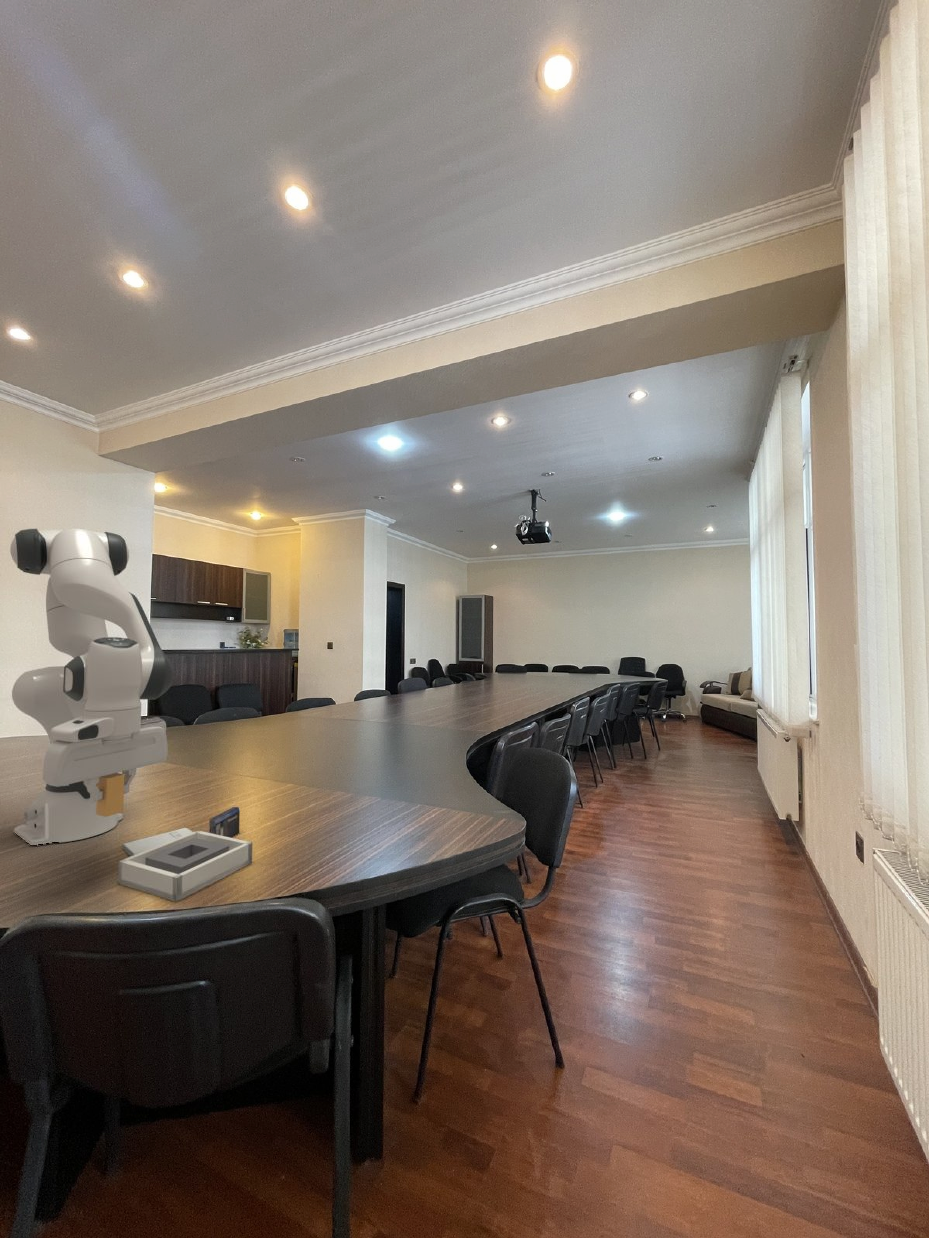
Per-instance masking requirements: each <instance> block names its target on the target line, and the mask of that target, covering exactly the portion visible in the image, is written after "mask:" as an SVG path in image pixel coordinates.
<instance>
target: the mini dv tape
mask: <svg viewBox="0 0 929 1238" xmlns="http://www.w3.org/2000/svg"><path fill="white" fill-rule="evenodd" d="M240 812H241V811H240V807H239V806H232V807H231V808H229V809H227V810H225V811H223V812H220V813H218V815H215V816H213V817H211V818H209V825H208V826H209V827H208V829H209V830H208V831H209V832H208V833H212V834H216V835H221V836H225V837H230V838H234V837H236V836H238V835H239V834H240ZM233 836H234V837H233Z"/></svg>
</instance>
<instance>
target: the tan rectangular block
mask: <svg viewBox="0 0 929 1238" xmlns="http://www.w3.org/2000/svg"><path fill="white" fill-rule="evenodd" d="M124 775H125V774H122V773H121V772H118V773H114V774H110V775H106V776H102V777H99V783H97V788H98V789H100V790H104V791H105V794H104V800H101V801H98V802H96V815H100V816H104V817H108V816H111V815H114V814H117V813H121V814H122V813H123V811H124V795H125V794H124Z"/></svg>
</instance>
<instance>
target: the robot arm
mask: <svg viewBox="0 0 929 1238" xmlns="http://www.w3.org/2000/svg"><path fill="white" fill-rule="evenodd" d="M9 551H10V557H11V558H12V561H13V562H14V563H15V565H16V568H18V569H19V570H20V571H22V572H23V573H26V574H31V575H35V576H36V575H39V576H40V575H41V574H42V575H49V576H50V577H49V578H48V580H47V584H46V585H47V586H46V593H45V610H46V611H45V612H46V621H47V624H46V625H47V632H48V641H49V643H50V644H51V646H52V647H53V648H54V649H55V650H56V651H59V652H60V653H63V654H65V655H67V656H70V657H71V658H72V659H71V660H70V661H69V662H68V663H67V664H65V665H59V666H57V665H56V666H47V667H42V668H38V669H37V668H36V669H32V670H28V671H24V672H23V673H22V674H20V676H18V678H17V679H16V680H15V682H14V684H13V687H12V690H11V698H12V702H13V704H14V705H15V707H16V708H17V709H18V710H19V711H20V712H22V713H23V714H25V715H27V716H30V717H31V718H32V719H34V720H35V721H37V722H38V723H39V724H40V725H41V726H42V728H43V729H44V730H45V732H46V734H47V736H48V738H49V743H50V744H49V745H48V747H47V749H46V752H45V755H44V761H43V767H42V768H43V769H42V780H43V781H44V782H45V784H46V785H45V787H44V788H45V791H44V792H42V794H41V795H39V796H38V798H36V799H35V800H34V801H33V802H32V803H30V804H29V806H28V810H26V811H24V814H23V817H24V821H25V823H22V824H20V825H17V826H16V827H14V828H13V833H14V832H16V833H17V834H18V835H20V837H22V838H24V839H25V840H26V842H29V844H30V845H37V846H39V845H38V844H43V845H47V844H46V843H49V844H53V843H52V842H59V843H67V842H72V841H74V842H75V841H78V840H84V839H87V838H90V837H91V838H92V837H94V836H97V835H98V836H99V835H101V834H104V833H106V832H108V831H110V830H112V829H114V828H115V827H116V826H117V825H118V822H120V821H121V820H122V819H123V818H124V816H123V813H122V812H121V813H117V814H114V815H111V816H108V817H104V816H100V815H96V802H98V801H101V800H104V794H105V791H104V790H100V789H98V788H97V783H99V777H102V776H106V775H110V774H114V773H121V774H124V795H125V794H129V793H130V784H131V783H132V782H133V780H134V778H135V777H136V775H137V769H138V768H143V767H148V766H152V765H155V764H160V763H163V762H164V761H165V762H166V759H167V757H168V753H169V752H168V751H169V749H168V740H167V739H168V737H167V734H166V733H167V723H166V721H165V719H163V718H160V717H159V716H153V717H150V718H142V701H141V700H157V699H158V698H160V697H161V696H162V695H164V694H165V693H166V692H167V691H168V690H169V689H170V688H171V686H172V685H173V681H174V670H173V666H172V663H171V661H170V660H169V658H168V657H167V655H166V653H164V651H163V650H162V648H161V646H160V644H159V640H158V639H157V637H156V635H155V632H154V631H153V627H152V626H151V624H150V621H149V619H148V617H147V614H146V613H145V611H144V609H143V606H142V604H141V603H140V601H139V599H138V597H137V596H136V595H135V594H133V593H131V592H130V591H128V590H127V589H126V588H125V587H124V586H123V585H122V584H121V583H120V582H119V581H118V579H117V578H116V576H118V575H120V574H121V573H122V572H124V571H125V570H126V568H127V565H128V562H129V559H130V550H129V547H128V544H127V543H126V540H125V538H123V537H122V535H120V534H117V533H114V532H108V531H105V532H102V531H94V530H89V529H84V528H77V527H73V528H67V529H60V528H59V529H58V528H57V529H55V528H54V529H37V528H28V529H21V530H19V531H18V532H16V533H15V534H14V537H13V539H12V540H11V544H10V550H9ZM106 621H108V622H110V623H112V624H114V625H116V626H118V627H120V629H121V630H122V631H123V632H124V633H125V636H126V638H125V637H118V636H117V637H114V636H111V637H110V636H109V635H108V631H107V626H106ZM20 837H19V838H20ZM26 842H25V843H26ZM29 844H28V845H29ZM30 845H29V846H30Z"/></svg>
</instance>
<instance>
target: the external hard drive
mask: <svg viewBox="0 0 929 1238" xmlns="http://www.w3.org/2000/svg"><path fill="white" fill-rule="evenodd" d="M192 832H193V831H192V830H191V829H189V828H187V827H181V828H179V829H175V830H172V831H168V832H163V833H160V834H156V835H151V836H148V837H145V838H141V839H137V840H133V841H130V842H124V843H122V850H123V849H124V850H125V851H124V852H126V853H127V854H128V856H129V857H131V856H134V855H136V854H139V853H141V852H144V851H146V850H149V849H152V848H154V847H157V846H159V845H162V844H164V843H167V842H169V841H172V840H174V839H177V838H180V837H182V836H185V835H187V834H190V833H192Z"/></svg>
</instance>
